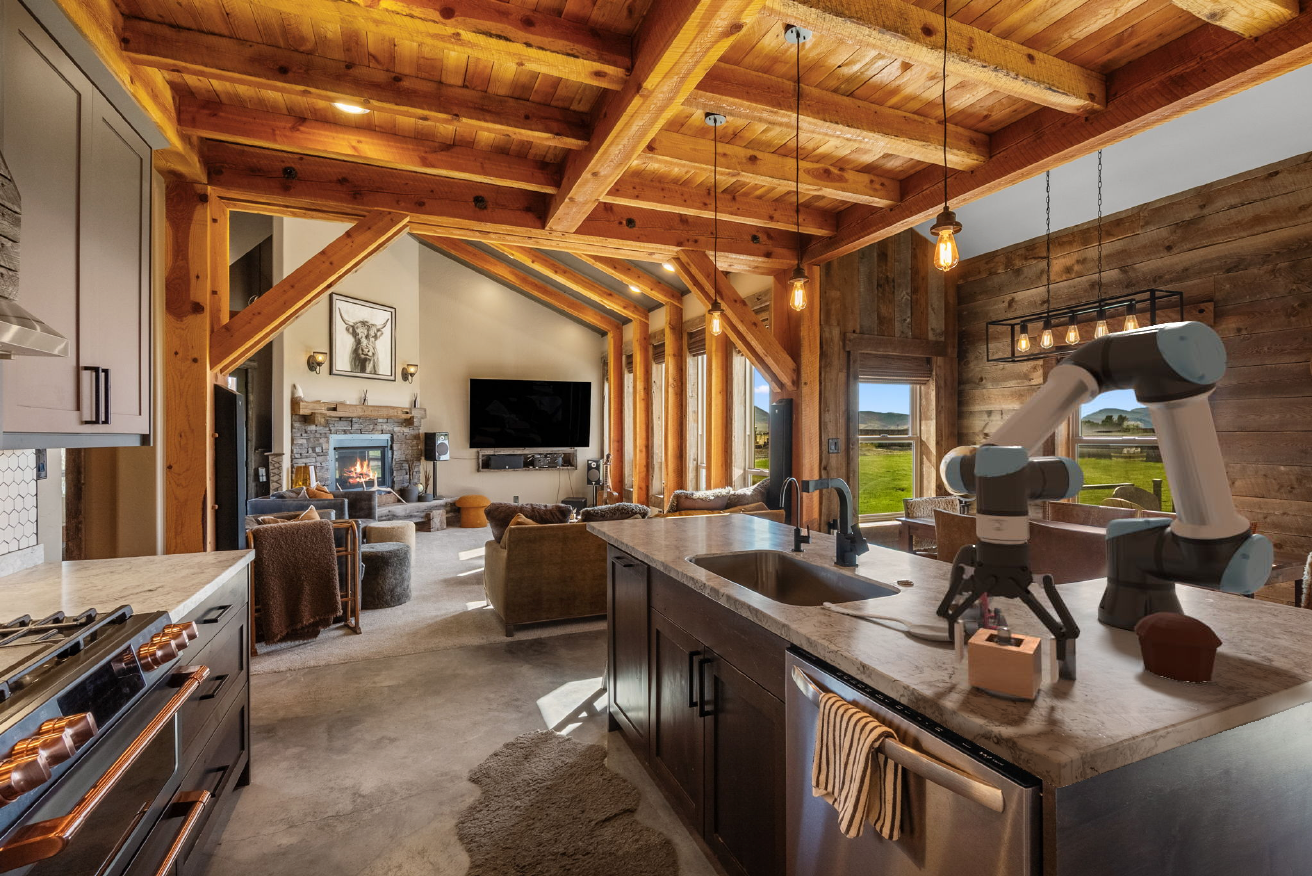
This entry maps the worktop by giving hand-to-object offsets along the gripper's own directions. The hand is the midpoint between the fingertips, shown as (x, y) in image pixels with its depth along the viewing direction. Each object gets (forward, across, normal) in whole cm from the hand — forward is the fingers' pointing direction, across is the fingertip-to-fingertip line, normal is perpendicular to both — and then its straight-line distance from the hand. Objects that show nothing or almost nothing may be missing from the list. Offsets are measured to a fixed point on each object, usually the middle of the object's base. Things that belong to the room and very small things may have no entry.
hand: (1005, 669), depth 97 cm
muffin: (+3, +22, +26) cm, 34 cm away
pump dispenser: (+3, -15, +49) cm, 52 cm away
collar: (+2, 0, 0) cm, 2 cm away
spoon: (+4, -27, +23) cm, 36 cm away
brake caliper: (+3, -9, +28) cm, 29 cm away
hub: (+3, 0, 0) cm, 3 cm away
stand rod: (+3, +7, +12) cm, 14 cm away
